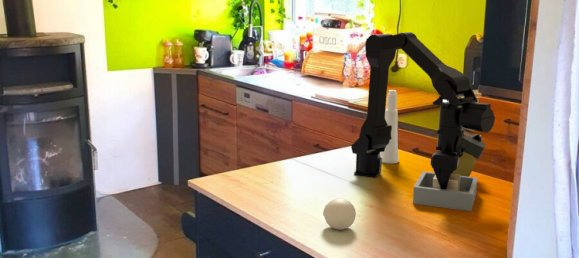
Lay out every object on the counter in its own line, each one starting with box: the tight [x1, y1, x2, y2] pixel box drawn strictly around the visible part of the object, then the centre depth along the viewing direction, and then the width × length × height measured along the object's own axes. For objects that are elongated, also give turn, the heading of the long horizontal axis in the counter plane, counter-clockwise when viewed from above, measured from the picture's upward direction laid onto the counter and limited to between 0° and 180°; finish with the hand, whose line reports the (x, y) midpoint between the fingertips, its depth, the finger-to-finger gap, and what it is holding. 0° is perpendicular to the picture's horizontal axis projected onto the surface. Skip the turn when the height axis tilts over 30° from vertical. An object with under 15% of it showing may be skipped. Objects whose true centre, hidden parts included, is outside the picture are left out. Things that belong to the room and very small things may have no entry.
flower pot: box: [453, 152, 477, 177], centre depth 170 cm, size 9×9×9 cm
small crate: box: [432, 174, 460, 191], centre depth 153 cm, size 6×6×5 cm
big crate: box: [412, 170, 478, 212], centre depth 153 cm, size 14×14×4 cm
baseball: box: [322, 198, 357, 230], centre depth 134 cm, size 7×7×7 cm
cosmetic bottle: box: [380, 89, 400, 165], centre depth 184 cm, size 6×6×22 cm
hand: (446, 185), depth 153 cm, fingers open, 9 cm apart
